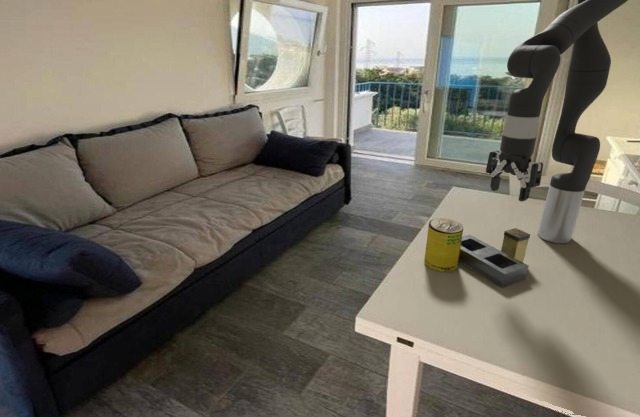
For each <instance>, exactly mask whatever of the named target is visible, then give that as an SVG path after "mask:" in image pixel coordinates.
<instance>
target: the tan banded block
mask: <svg viewBox="0 0 640 417" xmlns="http://www.w3.org/2000/svg"><path fill="white" fill-rule="evenodd" d="M503 232H504V233H503V241H502V245H501V249H500V251H502V252H504V253H505V254H507V255H509V256H511V257H513V258H515V259H517V260H519V261H521V262H523V263H524V261H525V260H524V259H525V256H526V253H527V252H526V251H527V248H528V244H529V239H530V238H531V234H530V233H528V232H525V231H524V230H522V229H519V228H517V227H514V228H511V229H507V230H505V231H503Z"/></svg>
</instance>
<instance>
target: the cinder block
mask: <svg viewBox="0 0 640 417" xmlns="http://www.w3.org/2000/svg"><path fill="white" fill-rule="evenodd" d="M459 262H460V263H461V264H463V265H465V266H466V267H468V268H469V269H471V270H473V272H475V273H477V274H479V275H480V276H482V277H484V278H486V279H487V280H489V281H490V282H492V283H493V284H495V285H497V286H498V287H500V288H505V287H508V286H510V285H512V284H516V283H519V282H520V281H524V280H526V279H527V274H528V269H529V265H528V264H526V263H524V261H523V262H521V261H519V260H517V259H515V258H513V257H511V256H509V255H507V254H505V253H504V252H502V251H501V249H497V248H495V247H494V246H492V245H490V244H488V243H486V242H485V241H482V240H480V239H479V238H476V237H475V236H473V235H471V234H467V235H462V240H461V246H460V252H459V259H458V263H459Z"/></svg>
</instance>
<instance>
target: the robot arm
mask: <svg viewBox="0 0 640 417" xmlns="http://www.w3.org/2000/svg"><path fill="white" fill-rule="evenodd" d="M628 1H629V0H577V4H576V5H574V6H571V7H570V8H569V9H567V10H565V11H564V12H562V13H561V14H559V15H557V16H556V18H554V19H553V20H552V22H550V23H549V24H548V25H547V26H546V27H545V29H543V30H542V31H541V32H539V33H537V34H535V35H533V36H531V37H530V38H528V39H526V40H524V41H523V42H521V43H519V44H518V45H517V47H515V48H514V49H513V51H512V52H511V53H510V55H509V57H508V58H507V59H508V60H507V64H506V67H507V71H508V73H509V74H510V75H511V76H512V77H515V78H517V79H518V78H519V79H520V78H521V79H531V82H530V83H529V85H528V87H525V88H524V87H523V88H518V89H515V90H513V91H512V92H511V94H510V96H509V100H508V101H509V102H508V107H507V114H506V117H505V121H504V124H503V129H502V136H501V142H500V148H499V150H493V151H490V152H489V153H488V158H487V163H486V168H485V173H486V174H489V175H490V176H491V180H490V184H489V185H490V186H489V187H490V191H493V192H495V191H498V190H500V184H501V179H502V177H501V176H502V174H504V173H506V174H510V175H513V176H516V179H517V180H518V181H519V183H520V184H521V187H520V190H519V196H518V202H521V203H522V202H526V201H527V200H528V199H529V198H530V193H531V189H532V188H537V187H539V186H540V185H541V181H542V176H543V169H544V163H543V162H542V161H540V162H534V161H532V156H533V154H534V152H535V146H536V141H537V136H538V133H539V132H538V131H539V128H540V127H539V126H540V117H541V116H540V115H541V112H542V111H541V110H542V106H543V101H544V98H545V96H546V95H547V94H546V93H547V92H548V90H549V87H550V86H551V83H552V82H553V79H554V78H555V75H556V74H557V72H558V69H559V67H560V64H561V55H562V54H564V53H565V52H567V50H569V48H570V47H571V46H572V45H573V46H572V51H571V56H570V61H569V66H568V71H567V77H566V81H565V90H564V97H563V102H562V107H561V112H560V117H559V119H558V124H557V128H556V131H555V135H554V138H553V143H552V146H551V157H552V159H553V160H554V161H555V162H557V163H561V164H564V165H569V166H573V168H572V171H570V172H565V173H563V172H562V173H556V174H554V175H552V177H551V179H550V182H549V187H548V190H547V195H546V198H545V202H544V206H543V210H542V214H541V219H540V222H539V228H538V230H537V236H538V237H539V238H541V239H542V240H544V241H547V242H550V243H555V244H568V243H570V242H571V240H572V238H573V235H574V231H575V227H576V225H577V221H578V218H579V214H580V208H581V206H582V203H583V199H584V194H585V191H586V189H587V186H588V184H589V181H590V179H591V176H592V174H593V169H594V167H595V164H596V162H597V159H598V156H599V153H600V149H601V141H600V139H599V137H597V136H594V135H588V134H582V133H577V132H576V127H577V124H578V122H579V120H580V118H581V116H582V114H584V112H585V111H586V110H587V109H588V108H589V107H590V105H592V104H593V103H594V102H595V101H596V100H597V99H598V97H599V96H600V95H602V93H603V91H605V88H606V87H607V83H608V80H609V79H608V78H609V74H610V70H611V66H612V65H611V64H612V59H611V55H610V53H609V50H608V47H607V45H606V43H605V42H604V39H603V38H602V37H603V36H602V35H601V32H600V29H599V24H598V22H600V21H601V20H602V19H604V18H605V17H607V16H608V15H609V14H612V12H614V11H616V9H618V8H620V7H621V6H623V5H624V4H625V3H627V2H628ZM498 161H499V162H498ZM498 163H499V164H498Z"/></svg>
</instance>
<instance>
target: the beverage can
mask: <svg viewBox="0 0 640 417" xmlns="http://www.w3.org/2000/svg"><path fill="white" fill-rule="evenodd" d="M427 228H428V229H427V235H426V246H425V251H424V252H425V253H424V261H423V262H424V264H425V265H426V267H428V268H429V269H431V270H433V271H435V272H440V273H448V272H450V273H451V272H453V271H455V270H457V268H458V265H459V264H458V263H459V261H458V259H459V252H460V246H461V240H462V236H463V233H464V225H463V224H462V223H461V222H459V221H457V220H454V219H450V218H443V217H442V218H441V217H440V218H433V219H431V220H430V221H429V223H428V227H427Z"/></svg>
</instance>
